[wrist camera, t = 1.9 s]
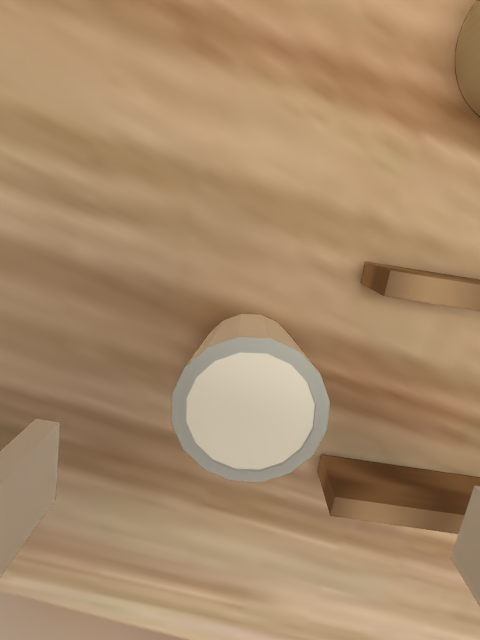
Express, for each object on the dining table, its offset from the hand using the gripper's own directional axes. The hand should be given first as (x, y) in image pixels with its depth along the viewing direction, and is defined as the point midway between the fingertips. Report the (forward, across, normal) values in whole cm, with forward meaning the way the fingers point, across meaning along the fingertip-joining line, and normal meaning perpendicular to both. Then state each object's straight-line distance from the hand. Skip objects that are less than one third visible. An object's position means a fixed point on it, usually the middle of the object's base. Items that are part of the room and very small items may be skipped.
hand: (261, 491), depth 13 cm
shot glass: (+12, 0, 0) cm, 12 cm away
